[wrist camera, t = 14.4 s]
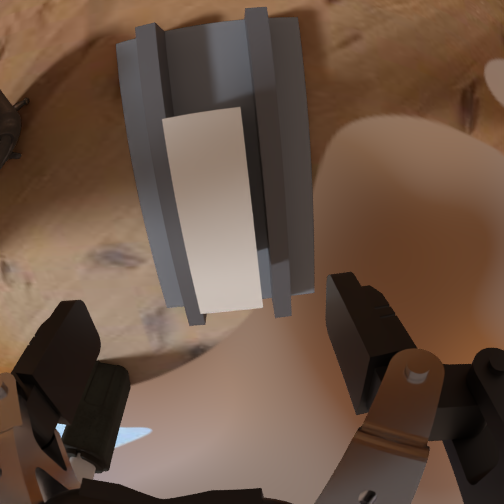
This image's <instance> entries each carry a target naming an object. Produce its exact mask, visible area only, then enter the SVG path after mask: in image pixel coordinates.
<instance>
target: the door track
mask: <svg viewBox="0 0 504 504" xmlns="http://www.w3.org/2000/svg"><path fill="white" fill-rule="evenodd" d="M135 31H136V38H135V39H132V40H128V41H124V42H121V43H117V44H116V53H117V63H118V73H119V81H120V90H121V97H122V105H123V112H124V119H125V125H126V132H127V138H128V144H129V149H130V155H131V161H132V166H133V171H134V176H135V181H136V186H137V191H138V196H139V200H140V205H141V210H142V214H143V218H144V223H145V227H146V231H147V235H148V239H149V243H150V247H151V251H152V255H153V259H154V263H155V267H156V270H157V274H158V278H159V281H160V285H161V288H162V292H163V295H164V299H165V302H166V306H167V308H170V307H183V306H184V307H185V311H186V315H187V318H188V322H189V326H194V325H205V323H206V315H207V313H206V314H201V313H200V309H199V305H198V301H197V297H196V293H195V288H194V284H193V280H192V276H191V271H190V267H189V262H188V258H187V253H186V248H185V244H184V239H183V234H182V229H181V225H180V220H179V215H178V210H177V204H176V199H175V194H174V188H173V183H172V177H171V172H170V166H169V160H168V154H167V148H166V142H165V136H164V129H163V123H162V119H165V118H170V117H175V116H181V115H186V114H192V113H198V112H205V111H211V110H219V109H226V108H234V107H240V108H241V116H242V125H243V134H244V142H245V151H246V160H247V169H248V177H249V186H250V195H251V204H252V213H253V222H254V231H255V240H256V249H257V258H258V267H259V276H260V285H261V294H262V299H266V298H272V301H273V307H274V314H275V318H277V317H286V316H291V295H300V294H307V293H314V223H313V222H314V221H313V191H312V169H311V151H310V136H309V121H308V109H307V97H306V86H305V75H304V65H303V56H302V47H301V39H300V31H299V23H298V17H280V18H268V13H267V7H257V8H245V19H244V20H234V21H225V22H217V23H209V24H203V25H196V26H190V27H185V28H179V29H174V30H169V31H164V30H163V29H161V28H160V27H159V26H158V25H157V24H156V23H151V24H147V25H143V26H139V27H135Z"/></svg>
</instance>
